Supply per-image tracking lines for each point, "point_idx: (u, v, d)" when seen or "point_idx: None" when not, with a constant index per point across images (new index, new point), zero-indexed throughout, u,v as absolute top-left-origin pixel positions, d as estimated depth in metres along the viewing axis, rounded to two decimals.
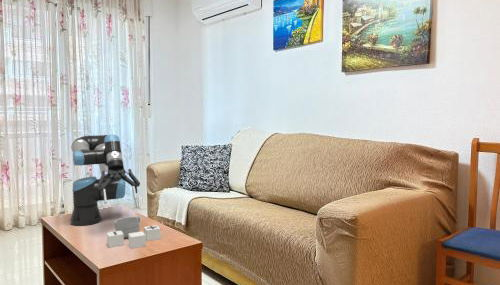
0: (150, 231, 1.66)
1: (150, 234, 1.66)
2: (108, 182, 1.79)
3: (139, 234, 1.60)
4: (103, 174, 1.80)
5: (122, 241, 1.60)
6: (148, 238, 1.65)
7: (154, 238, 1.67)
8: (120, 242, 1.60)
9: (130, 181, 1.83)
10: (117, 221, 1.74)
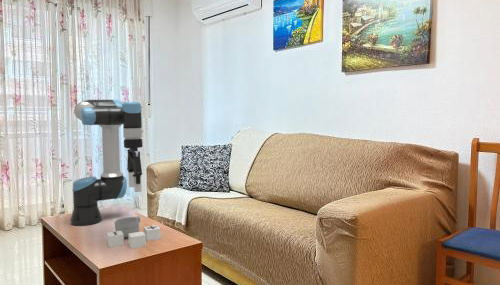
0: (150, 231, 1.66)
1: (150, 234, 1.66)
2: None
3: (139, 234, 1.60)
4: None
5: (122, 241, 1.60)
6: (148, 238, 1.65)
7: (155, 238, 1.67)
8: (120, 242, 1.60)
9: None
10: (117, 221, 1.74)
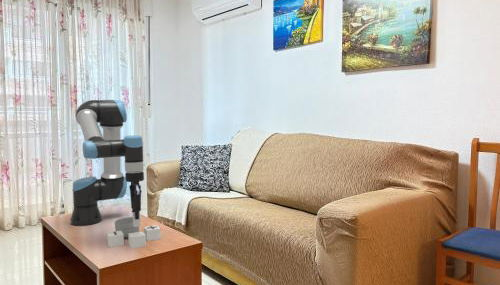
0: (150, 231, 1.66)
1: (151, 234, 1.66)
2: None
3: (139, 234, 1.60)
4: None
5: (122, 241, 1.60)
6: (148, 238, 1.65)
7: (155, 238, 1.67)
8: (120, 242, 1.60)
9: None
10: (117, 221, 1.74)
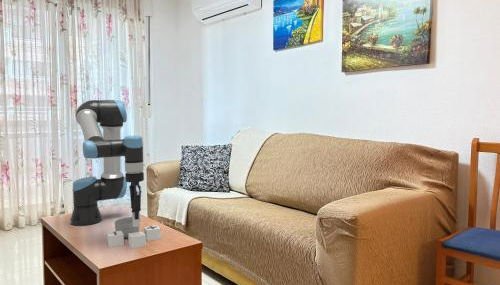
0: (150, 231, 1.66)
1: (151, 234, 1.66)
2: None
3: (139, 234, 1.60)
4: None
5: (122, 241, 1.60)
6: (148, 238, 1.65)
7: (155, 238, 1.67)
8: (120, 242, 1.60)
9: None
10: (117, 221, 1.74)
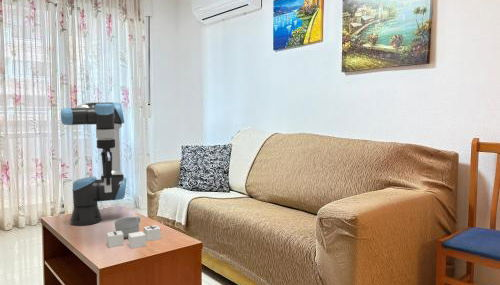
0: (150, 231, 1.66)
1: (151, 234, 1.66)
2: None
3: (139, 234, 1.60)
4: (111, 160, 1.59)
5: (122, 241, 1.60)
6: (148, 238, 1.65)
7: (155, 238, 1.67)
8: (120, 242, 1.60)
9: None
10: (117, 221, 1.74)
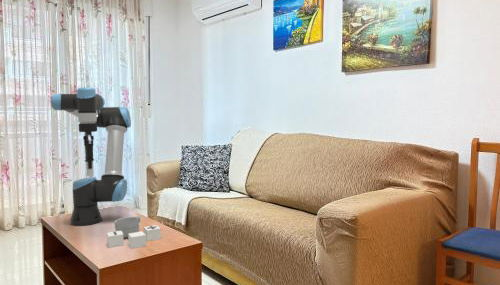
0: (150, 231, 1.66)
1: (151, 234, 1.66)
2: None
3: (139, 234, 1.60)
4: (92, 143, 1.61)
5: (122, 241, 1.60)
6: (148, 238, 1.65)
7: (155, 238, 1.67)
8: (120, 242, 1.60)
9: None
10: (117, 221, 1.74)
